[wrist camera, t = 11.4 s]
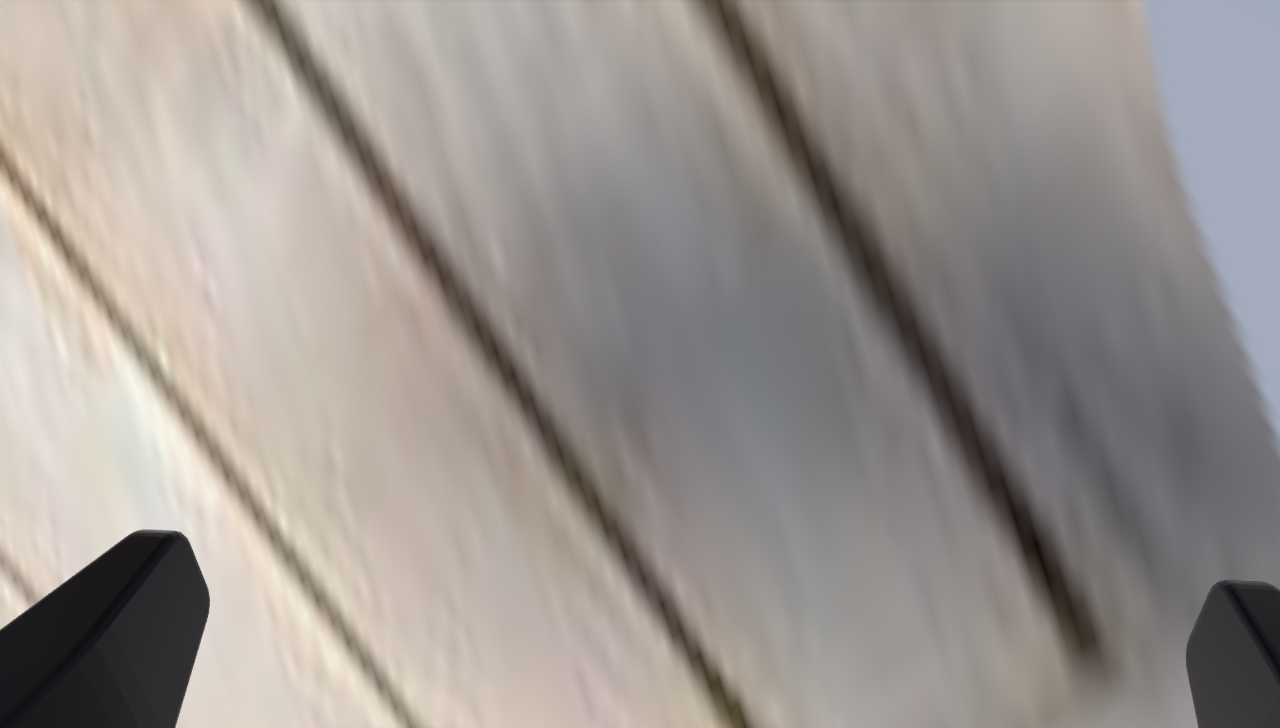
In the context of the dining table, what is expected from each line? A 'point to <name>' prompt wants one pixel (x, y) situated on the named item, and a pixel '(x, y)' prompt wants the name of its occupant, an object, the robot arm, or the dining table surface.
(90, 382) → the dining table surface
